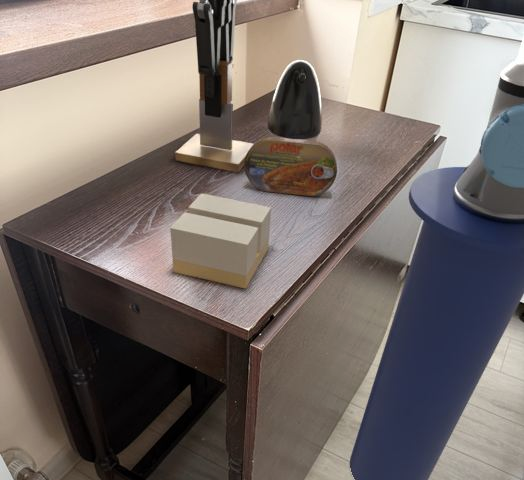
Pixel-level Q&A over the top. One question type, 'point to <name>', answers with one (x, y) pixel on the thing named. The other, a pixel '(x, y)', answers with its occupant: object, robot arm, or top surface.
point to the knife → (221, 129)
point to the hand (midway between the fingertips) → (216, 112)
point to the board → (213, 154)
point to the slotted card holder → (220, 240)
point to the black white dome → (296, 104)
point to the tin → (290, 166)
